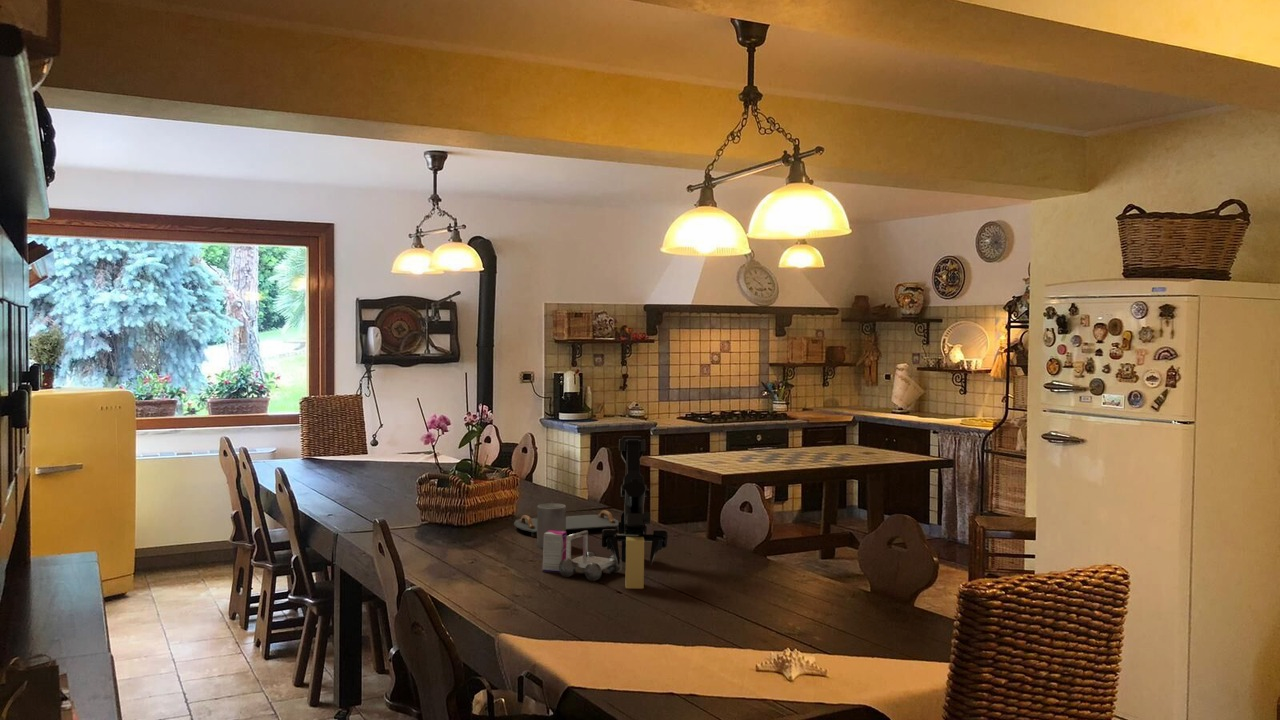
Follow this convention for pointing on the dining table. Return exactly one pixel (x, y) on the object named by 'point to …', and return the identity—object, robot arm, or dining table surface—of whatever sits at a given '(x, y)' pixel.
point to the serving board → (572, 522)
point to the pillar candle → (550, 520)
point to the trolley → (587, 560)
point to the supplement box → (554, 550)
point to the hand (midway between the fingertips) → (634, 564)
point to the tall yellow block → (634, 562)
